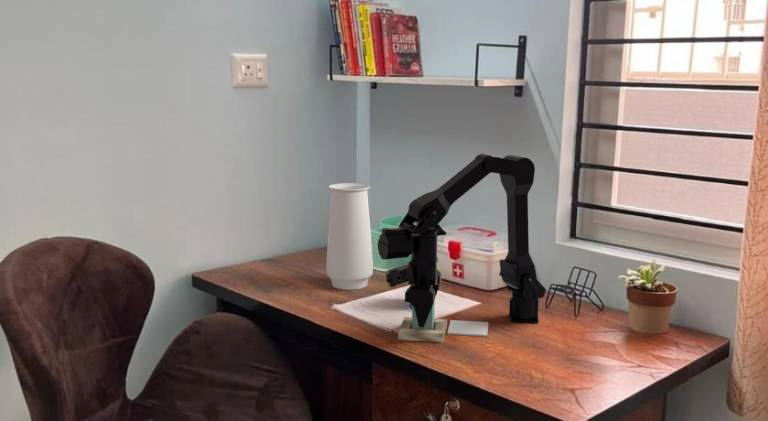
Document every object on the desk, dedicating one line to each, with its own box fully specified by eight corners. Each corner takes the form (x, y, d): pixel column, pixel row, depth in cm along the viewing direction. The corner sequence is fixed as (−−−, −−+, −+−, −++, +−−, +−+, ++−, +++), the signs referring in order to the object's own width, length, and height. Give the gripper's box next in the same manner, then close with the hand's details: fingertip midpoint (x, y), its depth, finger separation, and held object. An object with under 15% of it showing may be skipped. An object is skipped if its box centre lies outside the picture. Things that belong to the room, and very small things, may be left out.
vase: (368, 292, 204) (368, 190, 199) (321, 290, 206) (320, 189, 201) (376, 279, 217) (376, 183, 211) (332, 277, 219) (331, 182, 213)
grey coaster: (488, 323, 179) (488, 322, 179) (487, 336, 170) (487, 335, 170) (450, 321, 181) (450, 320, 180) (447, 334, 172) (447, 332, 172)
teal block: (433, 331, 174) (434, 297, 173) (431, 337, 170) (432, 303, 168) (414, 329, 175) (415, 296, 173) (412, 336, 170) (412, 302, 169)
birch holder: (446, 327, 176) (447, 319, 176) (442, 342, 167) (443, 333, 166) (404, 325, 178) (404, 317, 178) (398, 339, 168) (398, 331, 168)
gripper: (395, 244, 179) (394, 307, 182) (381, 263, 161) (381, 333, 164) (441, 246, 177) (440, 309, 180) (433, 266, 159) (432, 336, 162)
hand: (423, 321), depth 172 cm, fingers open, 7 cm apart
